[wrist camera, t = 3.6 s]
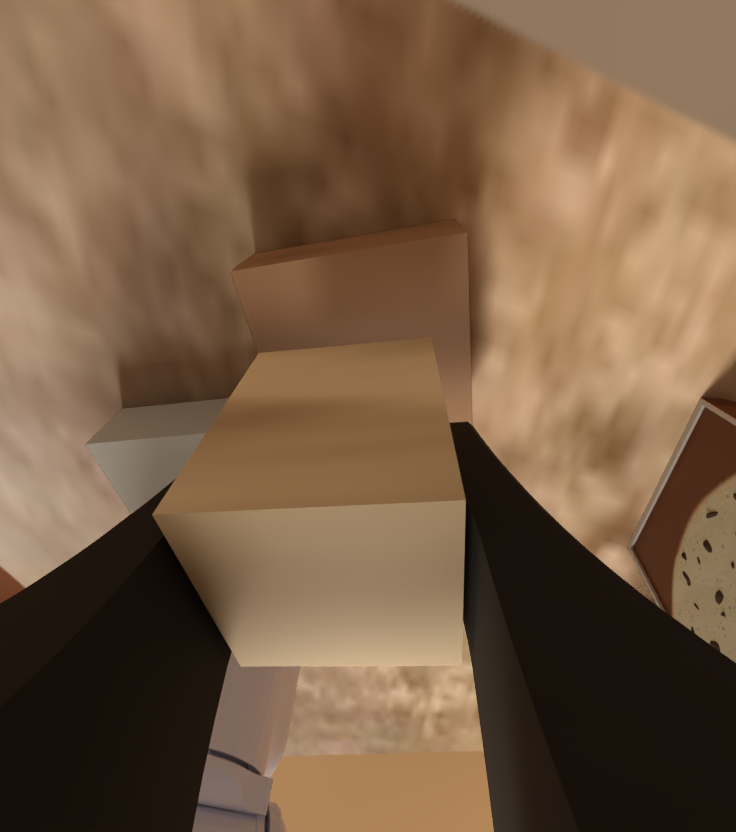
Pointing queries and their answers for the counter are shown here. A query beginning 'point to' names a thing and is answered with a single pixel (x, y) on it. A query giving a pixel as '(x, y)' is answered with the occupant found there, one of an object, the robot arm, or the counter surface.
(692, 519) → the food container
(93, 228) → the counter surface
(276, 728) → the robot arm
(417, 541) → the maple cube
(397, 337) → the walnut block
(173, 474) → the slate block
